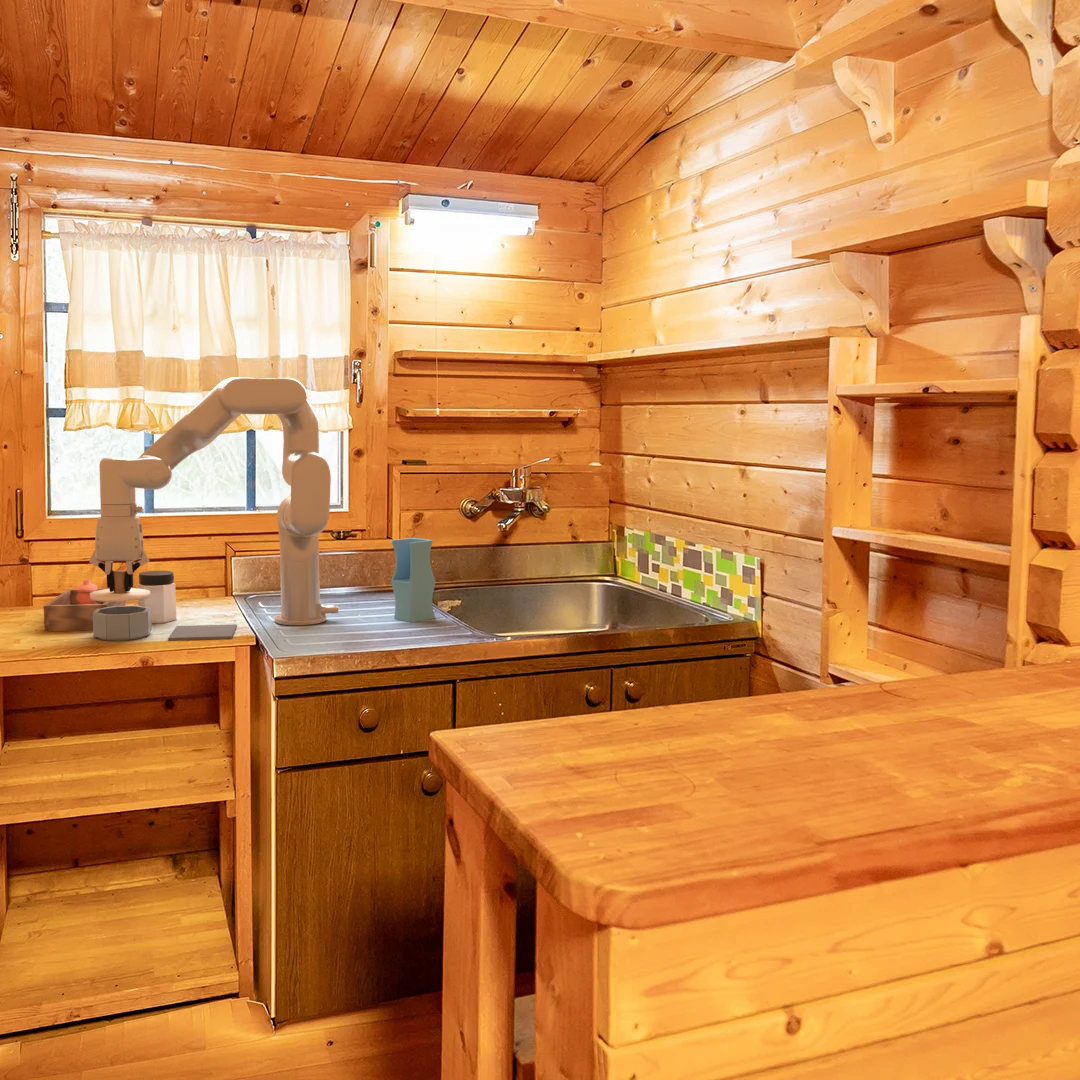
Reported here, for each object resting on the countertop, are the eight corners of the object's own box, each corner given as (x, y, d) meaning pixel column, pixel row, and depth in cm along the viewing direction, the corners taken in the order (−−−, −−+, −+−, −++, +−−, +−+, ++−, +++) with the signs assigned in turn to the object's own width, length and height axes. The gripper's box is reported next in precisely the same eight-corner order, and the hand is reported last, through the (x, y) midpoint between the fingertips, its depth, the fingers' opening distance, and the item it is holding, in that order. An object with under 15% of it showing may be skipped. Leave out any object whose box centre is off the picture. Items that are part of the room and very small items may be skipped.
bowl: (154, 629, 261) (153, 605, 261) (145, 640, 250) (145, 614, 249) (101, 631, 259) (100, 606, 258) (90, 641, 247) (89, 615, 247)
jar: (180, 621, 272) (179, 573, 271) (147, 625, 267) (146, 576, 266) (167, 615, 279) (165, 569, 278) (135, 619, 274) (133, 572, 272)
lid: (154, 592, 261) (153, 567, 260) (145, 601, 248) (144, 575, 247) (96, 592, 258) (95, 567, 258) (84, 602, 246) (83, 575, 245)
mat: (236, 626, 266) (236, 624, 266) (231, 638, 252) (231, 636, 252) (176, 628, 263) (176, 625, 263) (168, 640, 250) (168, 637, 250)
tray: (125, 611, 285) (124, 588, 284) (107, 629, 261) (106, 604, 261) (68, 612, 282) (67, 589, 281) (44, 631, 259) (43, 606, 258)
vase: (391, 618, 279) (390, 540, 276) (415, 614, 284) (414, 537, 282) (411, 622, 273) (411, 542, 271) (435, 618, 279) (435, 540, 277)
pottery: (96, 629, 262) (94, 589, 261) (54, 631, 260) (52, 590, 259) (111, 615, 279) (109, 577, 278) (71, 616, 278) (70, 578, 276)
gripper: (158, 510, 256) (159, 587, 258) (84, 509, 253) (86, 588, 255) (152, 513, 249) (154, 593, 251) (76, 512, 246) (79, 594, 248)
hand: (120, 590), depth 253 cm, fingers closed on lid, 2 cm apart
